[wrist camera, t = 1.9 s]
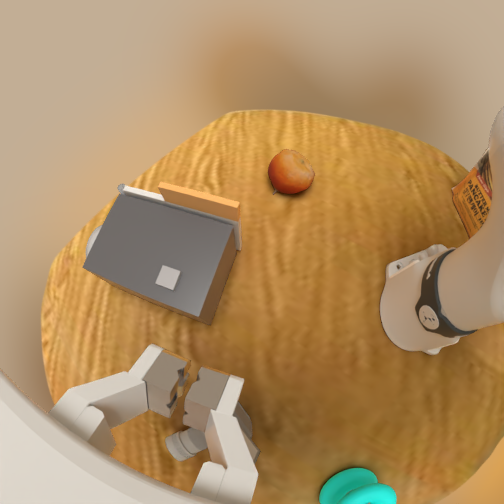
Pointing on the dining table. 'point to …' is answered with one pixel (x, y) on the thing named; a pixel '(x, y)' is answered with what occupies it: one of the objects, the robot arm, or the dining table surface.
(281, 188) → the fruit
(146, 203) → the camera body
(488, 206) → the pancake mix bag
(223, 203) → the side door
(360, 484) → the turquoise spool
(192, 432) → the camera
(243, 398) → the dining table surface
